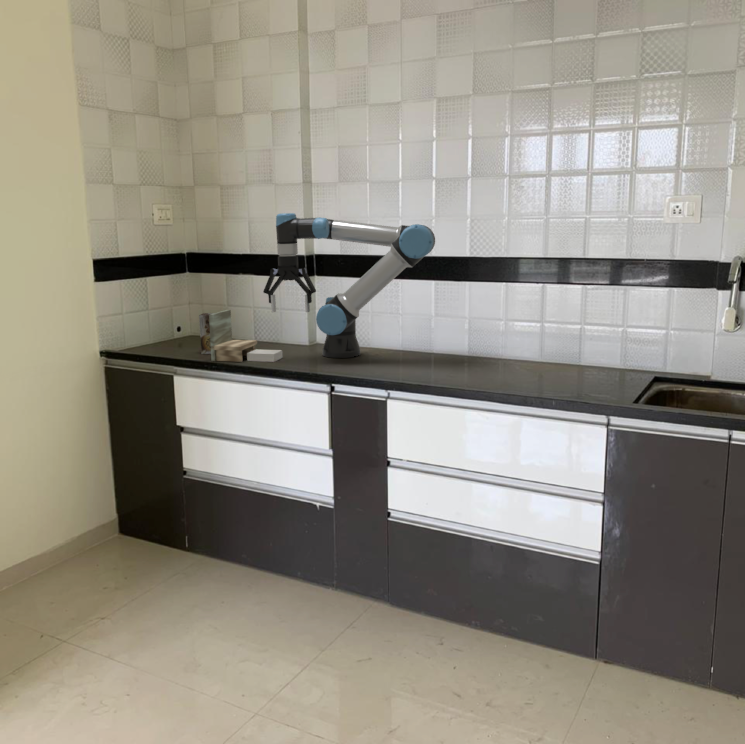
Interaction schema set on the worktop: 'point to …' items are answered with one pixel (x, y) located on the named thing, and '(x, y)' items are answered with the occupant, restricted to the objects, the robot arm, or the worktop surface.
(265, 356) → the flat white block
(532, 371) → the worktop surface
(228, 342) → the upright marbled panel
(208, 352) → the coffee box
